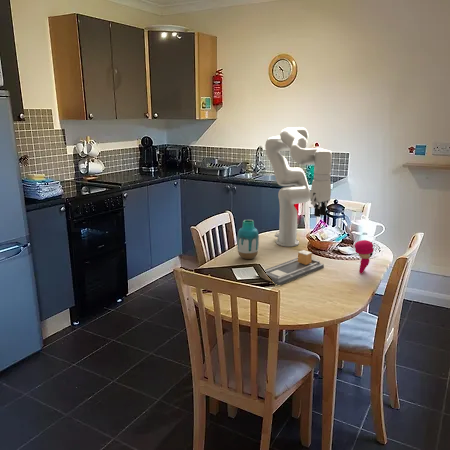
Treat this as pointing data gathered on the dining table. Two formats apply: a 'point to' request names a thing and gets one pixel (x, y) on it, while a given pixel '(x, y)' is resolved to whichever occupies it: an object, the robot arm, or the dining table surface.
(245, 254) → the vase
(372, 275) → the dining table surface
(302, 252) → the orange cube
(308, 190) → the robot arm
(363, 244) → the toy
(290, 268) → the grey rectangular tray
